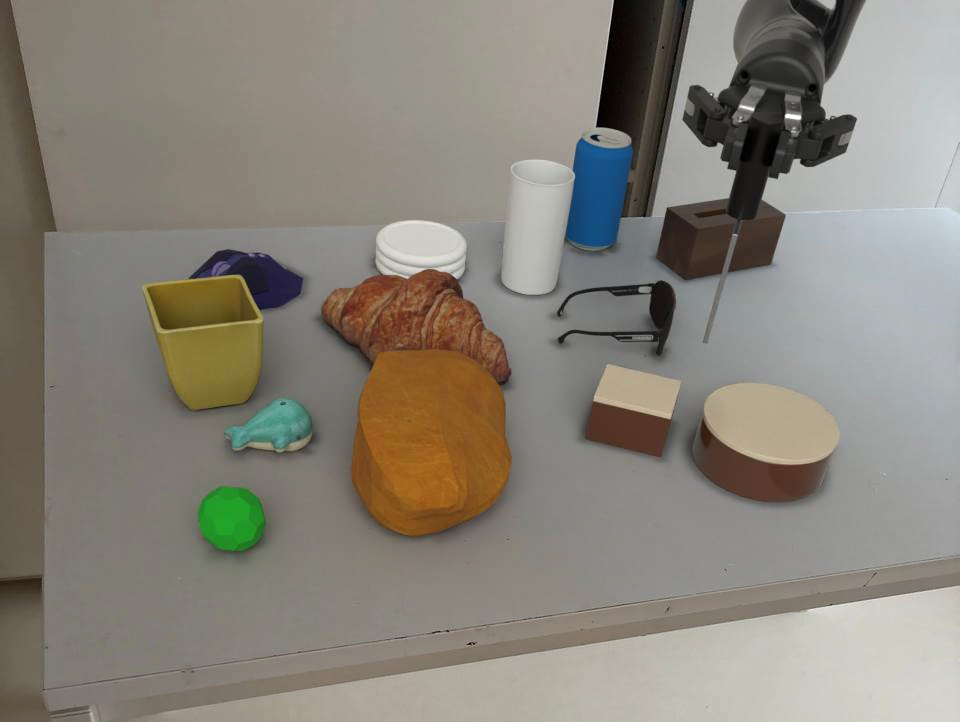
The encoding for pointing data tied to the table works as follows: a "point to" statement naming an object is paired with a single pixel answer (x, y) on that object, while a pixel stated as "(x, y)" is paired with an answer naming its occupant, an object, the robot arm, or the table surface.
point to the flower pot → (208, 338)
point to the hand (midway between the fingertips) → (756, 160)
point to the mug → (535, 225)
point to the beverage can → (598, 188)
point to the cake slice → (633, 410)
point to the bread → (429, 441)
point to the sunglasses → (659, 311)
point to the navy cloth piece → (254, 276)
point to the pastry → (414, 319)
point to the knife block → (716, 238)
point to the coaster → (420, 249)
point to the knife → (749, 184)
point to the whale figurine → (274, 428)
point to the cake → (764, 442)
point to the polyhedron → (231, 518)
